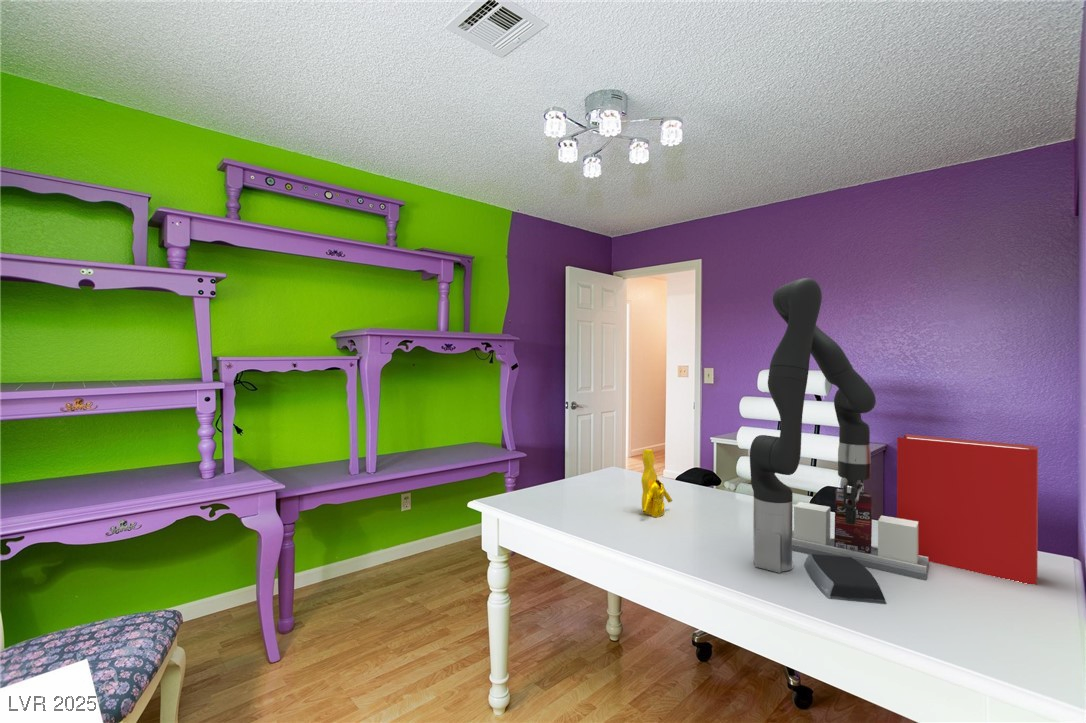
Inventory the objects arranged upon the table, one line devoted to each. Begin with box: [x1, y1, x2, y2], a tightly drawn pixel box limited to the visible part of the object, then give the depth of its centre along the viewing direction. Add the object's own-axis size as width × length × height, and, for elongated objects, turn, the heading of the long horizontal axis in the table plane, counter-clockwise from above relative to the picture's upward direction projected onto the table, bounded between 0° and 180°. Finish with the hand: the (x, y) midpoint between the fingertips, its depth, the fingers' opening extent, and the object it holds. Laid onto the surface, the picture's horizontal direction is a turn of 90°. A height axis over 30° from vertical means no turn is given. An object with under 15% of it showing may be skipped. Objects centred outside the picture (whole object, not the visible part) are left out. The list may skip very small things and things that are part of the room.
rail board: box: [792, 501, 930, 581], centre depth 137 cm, size 12×32×12 cm, turn 50°
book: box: [896, 433, 1039, 585], centre depth 131 cm, size 27×8×32 cm, turn 44°
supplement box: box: [833, 488, 873, 555], centre depth 137 cm, size 9×5×16 cm, turn 58°
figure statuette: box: [641, 448, 673, 518], centre depth 174 cm, size 18×8×22 cm, turn 136°
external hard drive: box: [803, 554, 887, 605], centre depth 121 cm, size 13×19×4 cm
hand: (853, 520), depth 137 cm, fingers open, 8 cm apart
